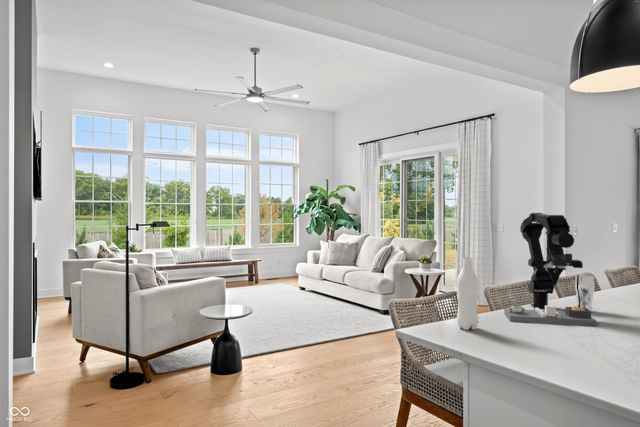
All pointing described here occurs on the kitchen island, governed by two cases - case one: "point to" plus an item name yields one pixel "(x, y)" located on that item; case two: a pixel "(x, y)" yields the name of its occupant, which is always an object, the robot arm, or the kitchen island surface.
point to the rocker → (516, 307)
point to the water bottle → (467, 296)
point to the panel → (561, 317)
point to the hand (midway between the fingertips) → (554, 284)
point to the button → (577, 308)
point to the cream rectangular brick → (550, 311)
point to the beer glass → (584, 290)
